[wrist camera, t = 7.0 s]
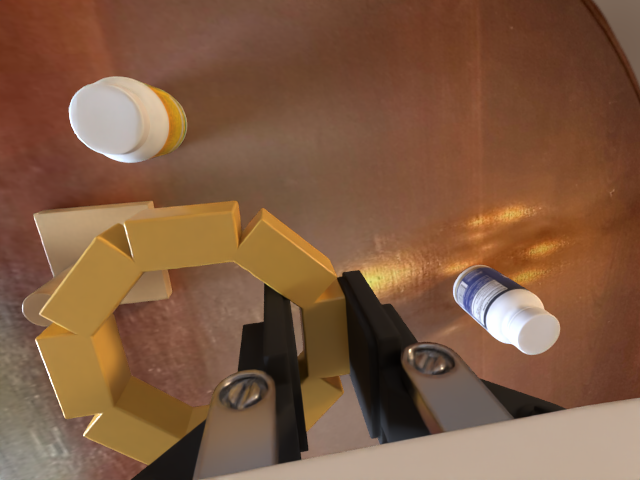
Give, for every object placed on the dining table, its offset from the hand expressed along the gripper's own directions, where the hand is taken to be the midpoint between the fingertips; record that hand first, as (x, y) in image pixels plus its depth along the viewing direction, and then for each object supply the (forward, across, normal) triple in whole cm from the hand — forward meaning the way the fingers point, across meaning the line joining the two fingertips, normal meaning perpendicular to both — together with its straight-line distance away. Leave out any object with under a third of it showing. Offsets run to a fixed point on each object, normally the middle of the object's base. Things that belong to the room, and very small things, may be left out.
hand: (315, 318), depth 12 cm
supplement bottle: (+23, +10, -7) cm, 26 cm away
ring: (0, +3, 0) cm, 3 cm away
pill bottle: (+23, -20, +12) cm, 32 cm away
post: (+22, +16, +4) cm, 28 cm away
